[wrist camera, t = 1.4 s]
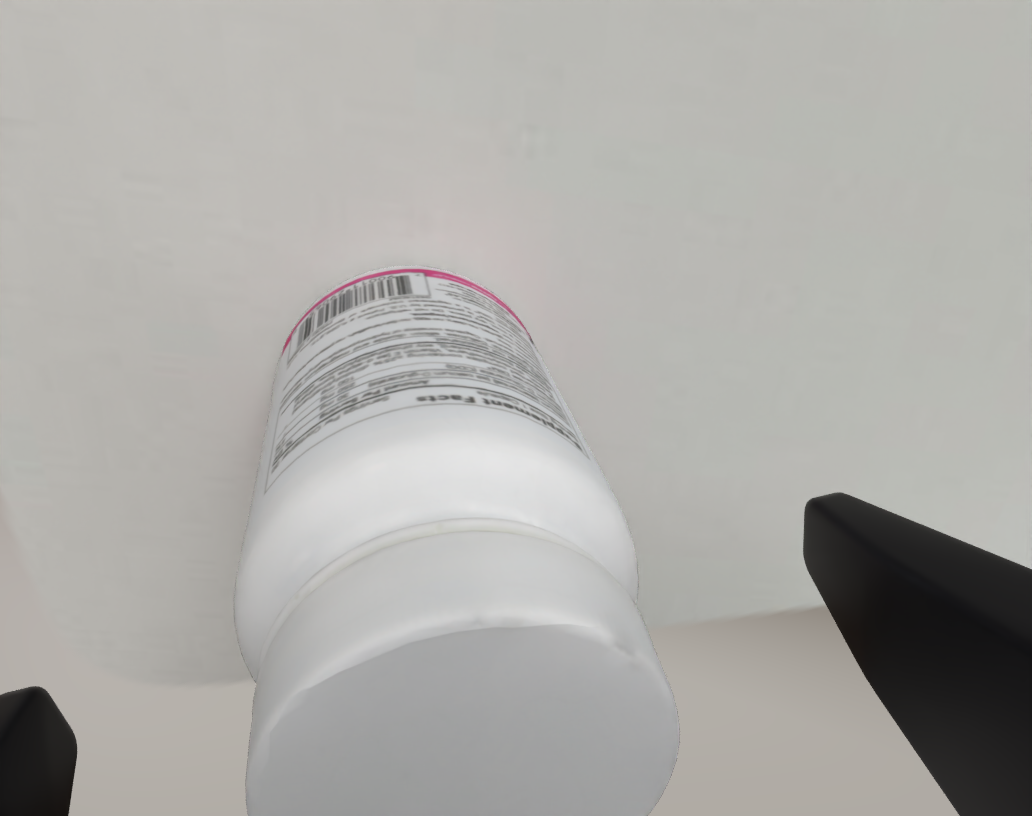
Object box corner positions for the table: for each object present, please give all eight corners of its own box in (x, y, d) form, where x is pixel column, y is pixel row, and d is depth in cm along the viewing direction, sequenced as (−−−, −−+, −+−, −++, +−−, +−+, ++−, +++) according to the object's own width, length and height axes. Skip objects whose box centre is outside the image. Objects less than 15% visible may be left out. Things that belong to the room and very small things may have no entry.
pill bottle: (495, 510, 16) (614, 946, 9) (254, 470, 15) (154, 949, 7) (574, 296, 14) (808, 620, 7) (306, 225, 13) (241, 541, 5)
